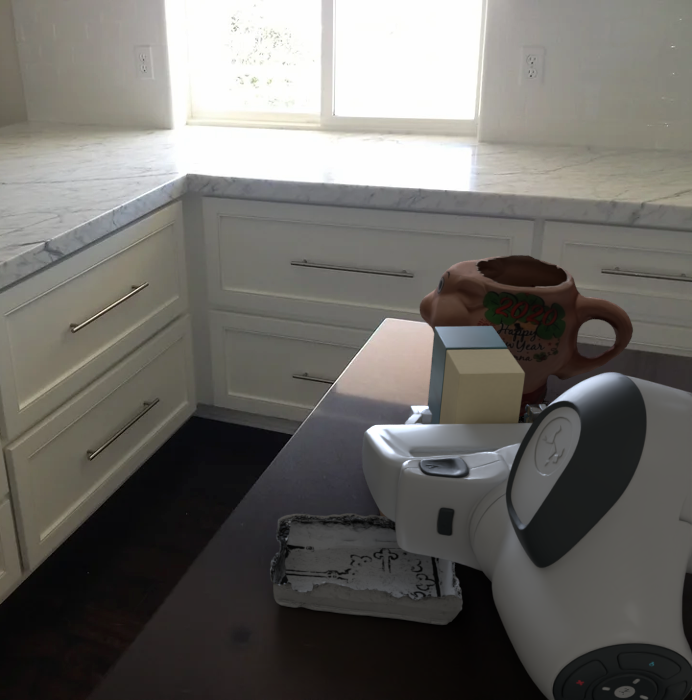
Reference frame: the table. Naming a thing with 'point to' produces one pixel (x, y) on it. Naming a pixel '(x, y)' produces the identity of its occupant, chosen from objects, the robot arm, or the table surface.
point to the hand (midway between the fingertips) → (475, 412)
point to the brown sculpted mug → (526, 315)
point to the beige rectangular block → (481, 387)
